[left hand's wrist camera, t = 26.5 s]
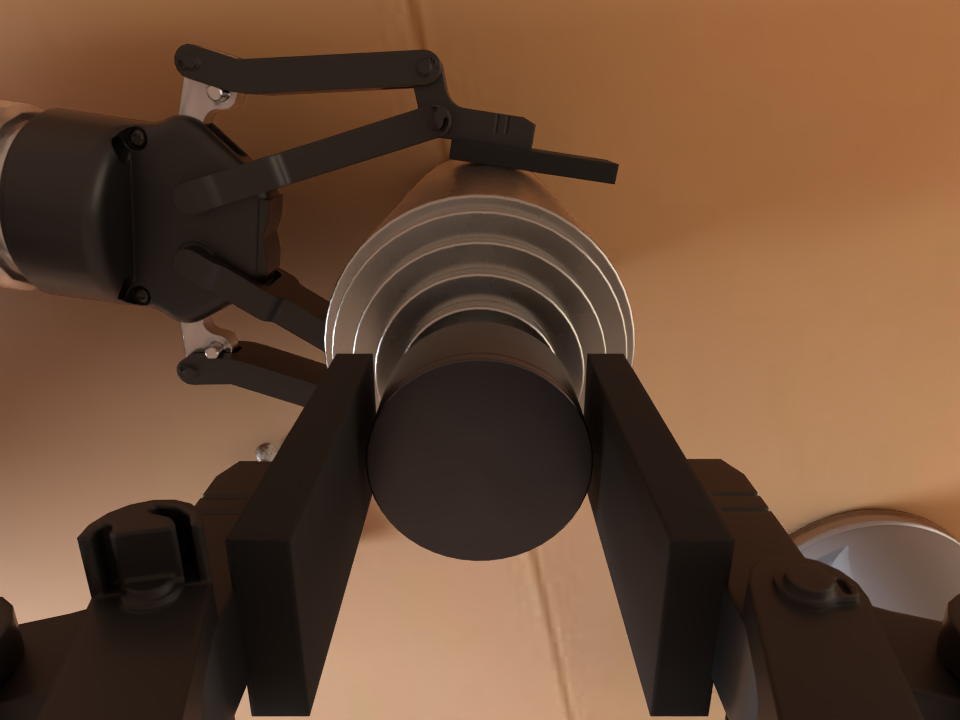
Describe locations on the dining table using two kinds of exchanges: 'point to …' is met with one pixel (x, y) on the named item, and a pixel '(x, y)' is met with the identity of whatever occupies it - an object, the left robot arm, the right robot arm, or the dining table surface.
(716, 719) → the dining table surface
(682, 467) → the left robot arm
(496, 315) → the bottle
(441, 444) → the cap
